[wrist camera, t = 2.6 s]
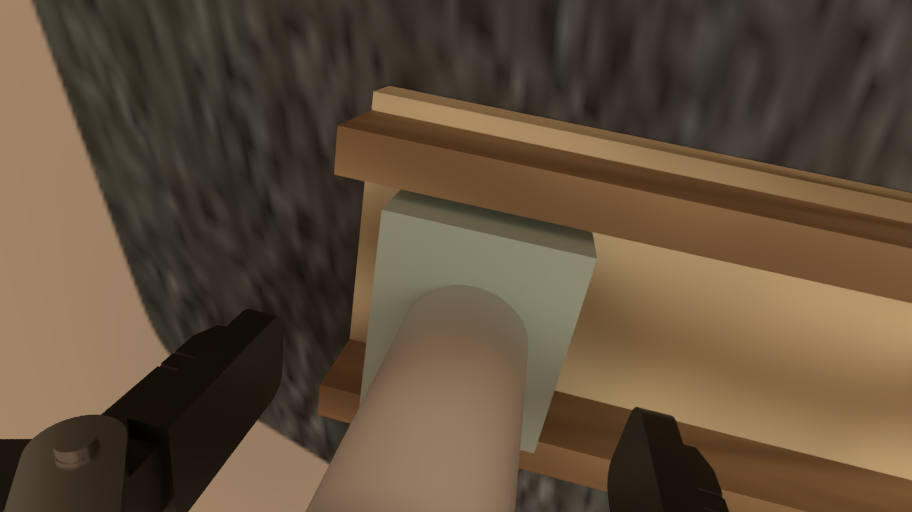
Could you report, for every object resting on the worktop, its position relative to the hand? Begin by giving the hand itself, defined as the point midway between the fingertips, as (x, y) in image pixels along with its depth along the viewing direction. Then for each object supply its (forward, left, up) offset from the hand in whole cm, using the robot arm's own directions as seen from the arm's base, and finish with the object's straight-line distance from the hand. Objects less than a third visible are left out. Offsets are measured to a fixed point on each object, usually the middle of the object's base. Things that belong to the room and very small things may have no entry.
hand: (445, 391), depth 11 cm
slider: (0, 0, -5) cm, 5 cm away
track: (0, +7, -7) cm, 10 cm away
